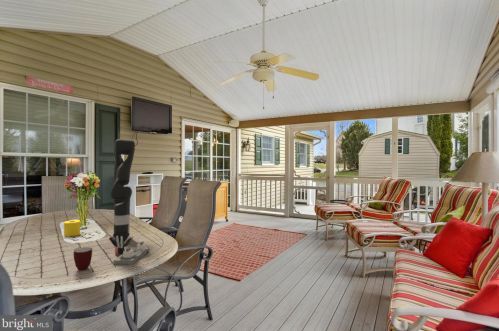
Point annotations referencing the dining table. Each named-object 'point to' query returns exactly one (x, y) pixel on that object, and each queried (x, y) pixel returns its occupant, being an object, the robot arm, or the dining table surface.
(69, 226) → the yellow cylinder
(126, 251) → the toggle
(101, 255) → the dining table surface
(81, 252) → the mug
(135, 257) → the panel
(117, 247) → the cap
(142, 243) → the toggle
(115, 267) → the dining table surface
